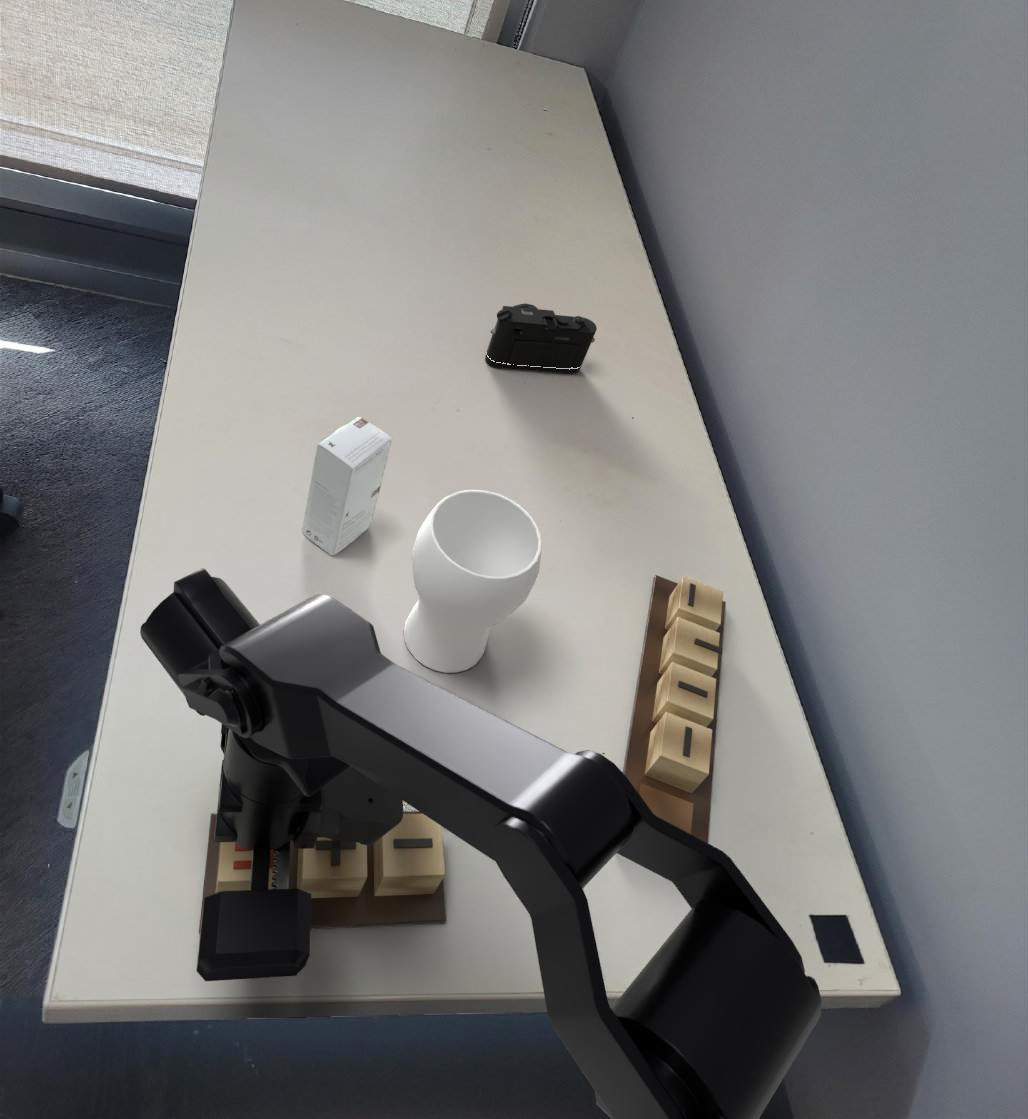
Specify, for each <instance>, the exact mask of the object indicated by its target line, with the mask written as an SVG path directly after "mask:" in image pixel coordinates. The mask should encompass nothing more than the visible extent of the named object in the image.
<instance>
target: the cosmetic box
mask: <svg viewBox="0 0 1028 1119" xmlns="http://www.w3.org/2000/svg"><path fill="white" fill-rule="evenodd" d="M392 442H393V438H392V437H391V436H390V435H388V434H387V433H386V432H384V431H383V430H381V429H380V428H378V427H377V426H375V425H374V424H372V423H371V422H369V421H367V420H366V419H364V417H362V416H358V417H356V418H354V419H353V420H351V421H350V422H349V423H348V424H345V425H343V426H340V427H339V428H337V429H336V430H335V431H334V432H333V433H332V434H330V435H329V436H328V437H327V438H325V439H323V440H322V441H321V442H319V443H317V446H316V451H315V456H314V462H313V468H312V473H311V479H310V484H309V489H308V495H307V500H306V506H305V511H304V516H303V522H302V527H301V534H302V535H303V536H304V537H306V538H307V539H308V540H310V541H311V542H312V543H313V544H315V545H316V546H318V547H319V548H320V549H322V551H324V552H326V554H328V555H330V556H331V557H332V556H334V555H337V554H339V552H341V551H342V550H344V549H345V548H347V547H348V546H349V545H350V544H351V543H352V542H355V540H356V539H358V538H359V537H360V536H361V535H362V534H363V533H365V532H366V531H367V530H368V529H369V528H370V527H371V525H372V523H373V519H374V515H375V511H376V507H377V503H378V499H379V494H380V491H381V487H382V482H383V479H384V475H385V470H386V466H387V462H388V459H389V454H390V449H391V445H392Z"/></svg>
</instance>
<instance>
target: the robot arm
mask: <svg viewBox="0 0 1028 1119" xmlns="http://www.w3.org/2000/svg"><path fill="white" fill-rule="evenodd" d="M139 634H140V637H141V639H142V641H143V642H144V643H145V645H146V646H147V647H148V649H149V650H150V651H151V653H152V654H153V656H154V657H155V658H156V659H157V661H158V662H159V663H160V665H161V666H162V668H163V669H164V671H165V672H166V673H167V675H168V676H169V677H170V678H171V680H172V681H173V682H174V684H175V685H176V686H177V688H178V689H179V690H180V692H181V693H182V694H183V696H184V698H185V700H186V703H187V705H188V708H190V709H192V710H194V711H195V712H196V713H197V715H199V716H203V717H204V716H207V717H209V718H211V719H213V720H216V721H217V722H219V723H220V724H221V727H220V734H221V736H220V749H221V751H222V753H223V759H222V761H221V768H220V777H219V778H220V780H219V788H218V799H217V808H216V813H217V818H216V828H215V838H214V842H236V844H237V845H239V846H240V847H243V848H245V849H249V850H252V864H251V879H250V890H242V891H221V892H218V893H216V894H213V895H210V896H208V897H205V898H204V904H203V913H202V921H201V931H200V934H199V940H198V942H199V944H198V952H197V961H196V973H198V975H199V976H200V977H201V978H202V979H203V980H204V981H205V982H220V981H233V980H234V981H236V980H249V979H251V980H253V979H268V978H284V977H285V978H286V977H297V975H298V974H299V973H300V972H301V971H303V969H304V968H305V967H306V965H307V964H308V961H309V959H310V956H311V930H312V929H311V894H310V893H308V892H305V891H303V890H300V889H288V888H289V863H290V841H294V843H293V848H295V849H311V848H314V847H315V844H316V841H317V838H318V837H326V838H330V839H337V840H344V841H351V842H358V843H360V844H362V845H371V844H374V843H375V842H376V841H378V840H379V839H380V838H381V837H383V836H384V835H385V834H386V833H388V832H389V831H390V830H391V829H393V828H394V827H395V826H397V825H398V824H399V823H400V822H401V820H402V818H403V811H404V803H406V804H407V805H409V806H410V807H412V808H413V809H415V811H420V812H421V813H423V814H424V815H426V816H427V817H429V818H430V819H432V820H433V821H435V822H436V823H438V824H439V825H441V828H443V829H445V830H446V831H448V832H450V833H451V834H452V835H454V836H455V837H457V838H458V839H460V840H461V841H463V842H465V843H466V844H468V845H469V846H471V847H472V848H474V849H475V850H477V851H478V852H480V853H482V855H485V856H486V857H488V858H489V859H491V860H492V861H494V862H495V864H496V865H497V867H498V869H499V871H500V873H501V874H502V876H503V878H504V879H505V880H506V882H507V883H508V885H509V886H510V888H511V890H512V891H513V892H514V894H515V895H516V896H517V898H518V900H519V901H520V903H521V904H522V906H523V907H524V909H525V910H526V911H527V913H528V914H529V917H530V920H531V926H532V932H533V938H534V944H535V949H536V955H537V961H538V967H539V972H540V978H541V985H542V990H543V996H544V1002H545V1007H546V1014H547V1016H548V1020H549V1022H550V1025H551V1027H552V1028H553V1030H554V1031H555V1033H556V1034H557V1037H559V1039H560V1041H561V1042H562V1044H563V1045H564V1047H565V1048H566V1049H567V1051H568V1052H569V1054H570V1056H571V1057H572V1058H573V1061H575V1063H576V1064H577V1066H578V1068H579V1069H580V1070H581V1072H582V1074H583V1075H584V1076H585V1078H586V1079H587V1081H588V1083H589V1084H590V1086H591V1087H592V1088H593V1090H594V1094H595V1103H596V1106H598V1107H599V1109H601V1111H602V1112H604V1113H605V1114H606V1115H607V1116H608V1117H609V1118H610V1119H760V1118H761V1116H762V1114H763V1113H764V1111H765V1110H766V1108H767V1106H768V1104H769V1102H770V1101H771V1099H772V1097H773V1096H774V1095H775V1093H776V1091H777V1089H778V1088H779V1086H780V1084H781V1083H782V1081H783V1080H784V1078H785V1077H786V1075H787V1073H788V1071H789V1070H790V1068H791V1067H792V1064H793V1063H794V1061H795V1059H796V1058H797V1056H798V1054H799V1053H800V1051H801V1049H802V1048H803V1046H804V1045H805V1043H806V1041H807V1040H808V1038H809V1036H810V1035H811V1032H812V1031H813V1029H814V1028H815V1026H816V1024H817V1023H818V1021H819V1019H820V1018H821V1015H822V1004H823V1003H822V1002H823V1001H822V996H821V992H820V988H819V985H818V982H817V981H816V978H814V977H813V976H810V975H806V970H805V965H804V961H803V957H802V955H801V954H800V952H799V949H798V948H797V947H796V944H795V943H794V941H793V940H792V938H791V937H790V936H789V934H788V933H787V931H786V930H785V929H784V928H783V926H782V925H781V924H780V922H779V921H778V920H777V918H776V916H775V915H774V914H773V913H772V912H771V910H770V909H769V908H768V906H767V905H766V904H765V902H764V901H763V899H762V898H761V896H759V894H758V893H757V891H756V890H755V889H754V887H753V886H752V884H751V883H750V882H749V881H748V879H747V878H746V877H745V875H744V874H743V873H742V871H741V870H740V868H739V867H738V866H737V865H736V863H735V862H734V861H733V860H732V858H731V857H730V856H729V855H727V853H726V852H724V851H723V850H721V849H719V848H718V847H716V846H714V845H712V844H710V843H709V842H708V843H706V842H704V841H702V840H701V839H699V838H697V837H695V836H693V835H691V834H689V833H687V832H685V831H684V830H682V829H680V828H678V827H676V826H674V825H672V824H670V823H668V822H667V821H665V820H663V819H661V818H659V817H657V816H656V815H654V814H653V812H652V811H651V810H650V808H649V807H648V806H647V804H646V803H645V802H644V800H643V799H642V797H641V796H640V795H639V793H638V792H637V791H636V789H635V788H634V787H633V785H632V784H631V782H630V781H629V780H628V778H627V777H626V776H625V775H624V774H623V771H622V770H621V769H620V768H619V767H618V766H617V765H616V764H615V763H614V762H613V761H612V760H610V759H609V758H607V757H606V756H604V755H603V754H602V753H599V752H597V751H593V750H589V749H586V750H585V749H584V750H581V751H577V752H576V753H575V754H573V753H571V752H568V751H566V750H565V749H562V748H561V747H558V746H557V745H555V744H553V743H550V742H549V741H547V740H544V739H543V738H541V737H539V736H536V735H535V734H533V733H531V732H529V731H527V730H525V729H523V728H521V727H520V726H517V725H515V724H513V723H511V722H509V721H507V720H506V719H504V718H502V717H499V716H498V715H496V714H494V713H492V712H490V711H488V710H486V709H484V708H482V707H480V706H478V705H476V704H475V703H472V702H471V701H468V700H466V699H464V698H462V697H460V696H459V695H456V694H455V693H452V692H451V691H449V690H446V688H443V687H441V686H439V685H437V684H435V683H433V682H432V681H429V680H427V679H425V678H423V677H422V676H420V675H417V674H415V673H414V672H411V671H410V670H408V669H405V668H404V667H402V666H400V665H398V664H396V663H395V662H394V661H392V660H391V659H389V658H388V657H387V656H385V655H384V654H383V653H382V652H381V648H380V644H379V641H378V638H377V634H376V631H375V627H374V625H373V624H372V623H371V622H370V621H368V620H367V619H366V618H364V617H363V616H361V615H359V614H358V613H356V612H355V611H354V610H352V608H350V607H348V606H346V605H345V604H343V603H342V602H340V601H339V600H338V599H336V598H334V597H332V596H330V595H327V594H322V593H317V594H314V595H312V596H310V597H308V598H306V599H304V600H302V601H301V602H299V603H297V604H296V605H294V606H292V607H289V608H288V609H286V610H285V611H283V612H281V613H279V614H277V615H275V616H274V617H272V618H270V619H268V620H266V621H264V622H262V623H261V624H260V622H258V620H257V619H256V618H255V617H254V615H253V614H252V613H251V611H249V609H248V608H247V607H246V606H245V604H244V603H243V602H242V600H240V598H239V597H238V596H237V595H236V593H235V591H233V590H232V589H231V587H230V586H229V585H228V584H227V583H226V581H225V580H223V579H222V578H220V577H217V576H211V574H210V573H209V572H208V570H207V569H206V568H200V569H198V570H196V571H194V572H191V573H190V574H188V575H185V576H183V577H181V578H180V579H177V580H175V581H174V582H173V592H172V593H170V594H169V595H168V596H167V597H166V598H164V599H163V600H162V601H161V602H159V603H158V605H157V606H156V607H155V608H154V609H153V610H152V611H151V613H150V614H149V616H148V617H147V618H146V620H145V622H143V623H142V624H141V625H140V631H139ZM273 849H274V850H273ZM270 850H273V853H274V854H277V855H275V856H273V860H275V861H276V862H273V864H272V866H273V867H276V868H274V869H272V873H274V874H275V875H273V876H272V880H275V881H274V882H272V884H271V886H272V887H275V888H273V889H271V890H268V884H269V865H270ZM616 854H617V855H619V856H620V857H623V858H625V859H627V860H629V861H631V862H632V863H635V864H637V865H638V866H641V867H642V868H644V869H647V870H648V871H651V872H652V873H654V874H656V875H658V876H660V877H662V878H664V879H666V880H668V881H669V882H671V883H672V884H673V885H674V886H675V887H676V889H677V891H678V892H679V893H680V895H681V896H682V897H683V899H684V900H685V902H686V903H687V904H688V905H689V907H690V908H691V909H690V910H689V912H687V914H686V915H685V916H684V918H683V919H682V920H681V921H680V923H679V924H678V925H677V926H676V927H675V929H674V930H673V931H672V933H671V934H670V935H669V936H668V937H667V939H666V940H665V941H664V942H663V944H661V946H660V947H659V948H658V950H656V952H655V954H653V956H652V957H651V958H650V960H649V961H648V962H647V964H645V966H644V967H643V968H642V970H641V971H640V972H639V973H638V974H637V976H636V977H635V978H634V979H633V980H632V982H630V984H629V986H628V987H627V988H626V989H625V991H624V992H623V993H622V994H621V996H620V997H619V998H618V999H617V1000H616V1002H615V1003H614V1004H613V1005H612V1007H611V1005H610V1003H609V998H608V995H607V989H606V985H605V979H604V974H603V969H602V965H601V960H600V955H599V949H598V945H597V940H596V935H595V931H594V925H593V921H592V916H591V911H590V906H589V902H588V898H587V896H586V895H587V894H586V893H585V891H584V888H585V887H586V886H587V885H588V884H589V882H591V881H592V880H593V879H594V877H596V876H597V874H598V873H599V872H600V871H601V870H603V868H604V867H605V866H606V865H607V864H608V862H610V860H611V859H612V858H613V857H615V855H616Z"/></svg>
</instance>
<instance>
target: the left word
mask: <svg viewBox="0 0 1028 1119" xmlns="http://www.w3.org/2000/svg"><path fill="white" fill-rule="evenodd" d="M216 818H217V812H214V813H213V812H212V813H211V814H210V821H209V830H208V840H207V850H206V858H205V868H204V878H203V886H202V887H203V888H202V899H201V908H200V918H199V928H198V935H200V931H201V921H202V913H203V904H204V898H205V897H208V896H210V895H213V894H215V890H216V879H217V868H218V858H219V847H220V842H214V838H215V828H216ZM442 828H443V827H442V826H441V825H439V824H438V823H436V822H435V821H433V820H432V819H430V818H429V817H427V816H426V815H424V814H423V813H421V812H420V811H418V810H415V811H413V810H408V811H404V810H403V818H402V820H401V822H400V823H399V824H398V825H397V826H395V827H394V828H393V829H391V830H390V831H389V832H388V833H386V834H385V835H384V836H383V837H381V838H380V839H379V840H378V841H376V842H375V843H374V844H371V845H362V844H360V843H358V842H351V841H344V840H337V839H330V838H326V837H318V838H317V841H316V844H315V847H314V848H311V849H295V848H293V843H294V841H290V863H289V888H288V889H300V890H303V891H305V892H308V893H310V894H311V930H316V929H317V930H319V929H320V930H321V929H338V928H339V929H342V928H360V927H361V928H363V927H381V926H382V927H384V926H405V925H406V926H407V925H428V924H430V925H431V924H444V923H446V921H447V909H446V899H445V897H446V896H445V882H444V877H445V875H446V869H445V857H444V842H443V829H442Z"/></svg>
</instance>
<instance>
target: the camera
mask: <svg viewBox="0 0 1028 1119" xmlns="http://www.w3.org/2000/svg"><path fill="white" fill-rule="evenodd" d="M496 318H497V319H496V322H495V326H494V327H492V328H490V329H489V332H490V334H491V337H490V340H489V343H488V346H487V350H486V352H487V355H488V356H489V358H491V360H494V361H495V362H493V361H491V360H490V359H489V358H488V357H487V355H486V354H484V355H485V356H484V361H485V362H486V364H487V365H488V366H490V367H492V368H494V369H503V370H514V371H515V370H516V371H527V372H541V373H542V372H543V373H555V374H568V375H574V374H578V372H580V370H581V368H582V366H581V365H583V363H584V361H585V359H586V357H587V354H588V352H589V350H590V347H591V345H592V343H594V342H595V341H596V338H595V335H596V332H597V330H598V329H597V328H598V327H597V325H596V323H595V322H594V321H593V320H592V319H589V318H587V317H583V316H580V315H576V316H573V315H572V316H571V315H561V314H555V311H554V310H551V309H541V308H538V307H537V306H535V305H533V304H530V303H527V302H526V303H520V304H519V303H518V304H516V305H513V306H511V305H510V306H509V305H503V306H502V308H501V310H499V311H498V312H497V313H496ZM496 362H501V363H496ZM503 362H504V363H506V364H502V363H503ZM507 363H509V364H511V365H507ZM513 364H514V365H513ZM517 365H527V366H517ZM528 365H529V366H528ZM530 366H541V367H530ZM580 366H581V367H580ZM543 367H556V368H571V367H573V368H577V367H580V368H578V369H570V370H569V369H556V368H543Z"/></svg>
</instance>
